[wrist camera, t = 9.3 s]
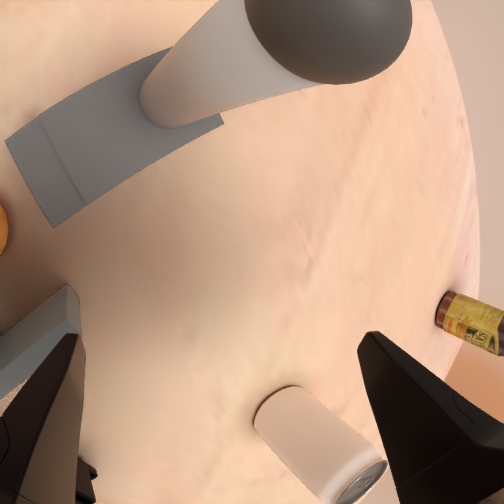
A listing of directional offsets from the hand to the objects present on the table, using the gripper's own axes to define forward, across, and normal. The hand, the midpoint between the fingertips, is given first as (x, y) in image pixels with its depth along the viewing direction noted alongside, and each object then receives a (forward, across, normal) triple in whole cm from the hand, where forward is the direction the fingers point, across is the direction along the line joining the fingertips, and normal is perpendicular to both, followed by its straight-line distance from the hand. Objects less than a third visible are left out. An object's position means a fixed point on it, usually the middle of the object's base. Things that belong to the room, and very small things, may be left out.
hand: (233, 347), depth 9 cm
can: (+8, -9, +21) cm, 24 cm away
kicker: (+12, +6, -3) cm, 14 cm away
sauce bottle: (+19, -38, +18) cm, 46 cm away
